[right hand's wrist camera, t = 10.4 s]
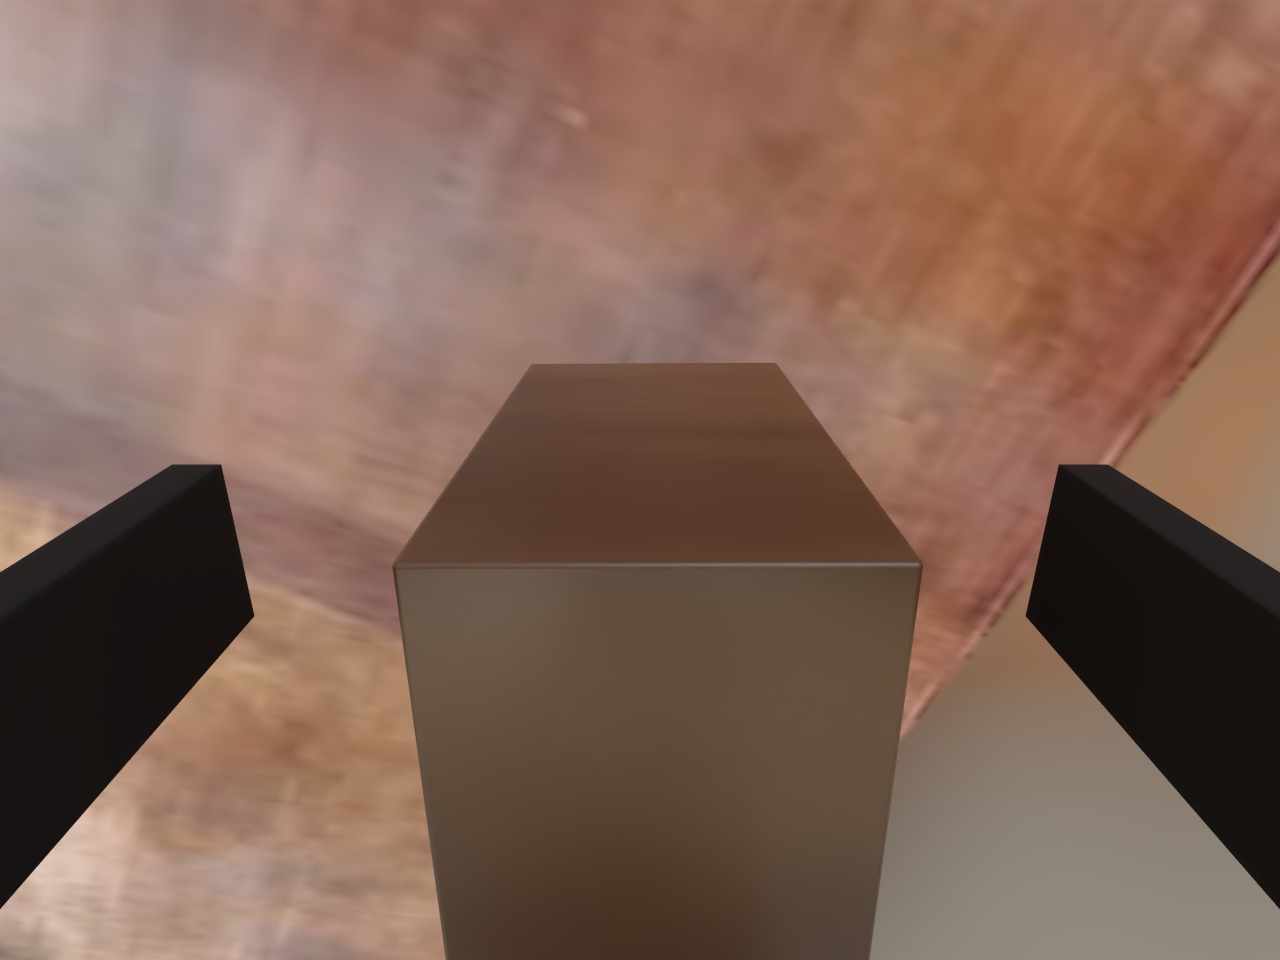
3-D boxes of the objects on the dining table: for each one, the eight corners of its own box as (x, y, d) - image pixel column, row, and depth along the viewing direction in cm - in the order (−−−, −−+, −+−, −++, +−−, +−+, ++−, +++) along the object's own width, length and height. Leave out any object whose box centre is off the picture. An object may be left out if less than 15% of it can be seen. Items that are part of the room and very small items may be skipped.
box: (530, 363, 19) (388, 562, 9) (777, 362, 19) (926, 562, 9) (568, 1012, 27) (519, 1507, 17) (741, 1013, 27) (795, 1512, 17)
